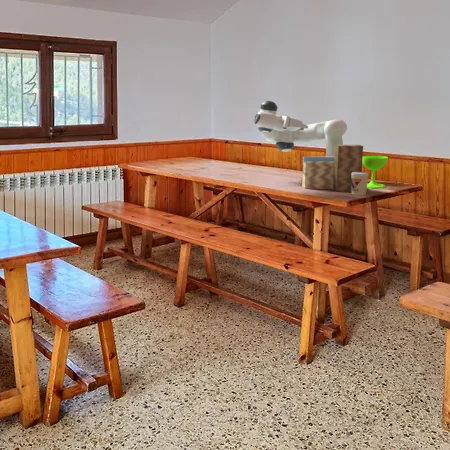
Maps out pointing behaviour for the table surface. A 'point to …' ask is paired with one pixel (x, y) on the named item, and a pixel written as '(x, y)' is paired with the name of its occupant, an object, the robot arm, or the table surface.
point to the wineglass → (374, 168)
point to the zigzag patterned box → (318, 175)
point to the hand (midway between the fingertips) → (305, 128)
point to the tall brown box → (346, 165)
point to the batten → (318, 159)
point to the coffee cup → (359, 183)
